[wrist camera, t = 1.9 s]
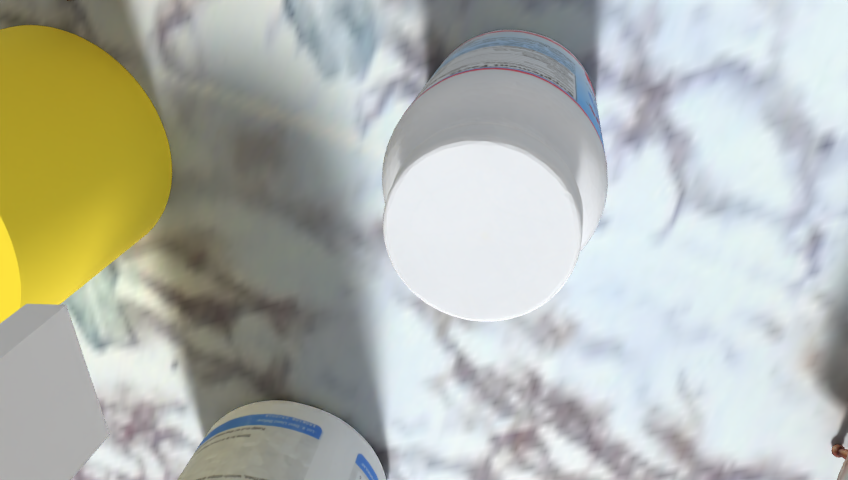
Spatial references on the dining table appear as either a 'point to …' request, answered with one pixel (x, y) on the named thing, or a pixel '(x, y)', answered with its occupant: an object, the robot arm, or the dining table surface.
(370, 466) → the supplement tub
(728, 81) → the dining table surface
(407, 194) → the pill bottle
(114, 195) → the yellow toilet paper roll
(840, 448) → the alarm clock
